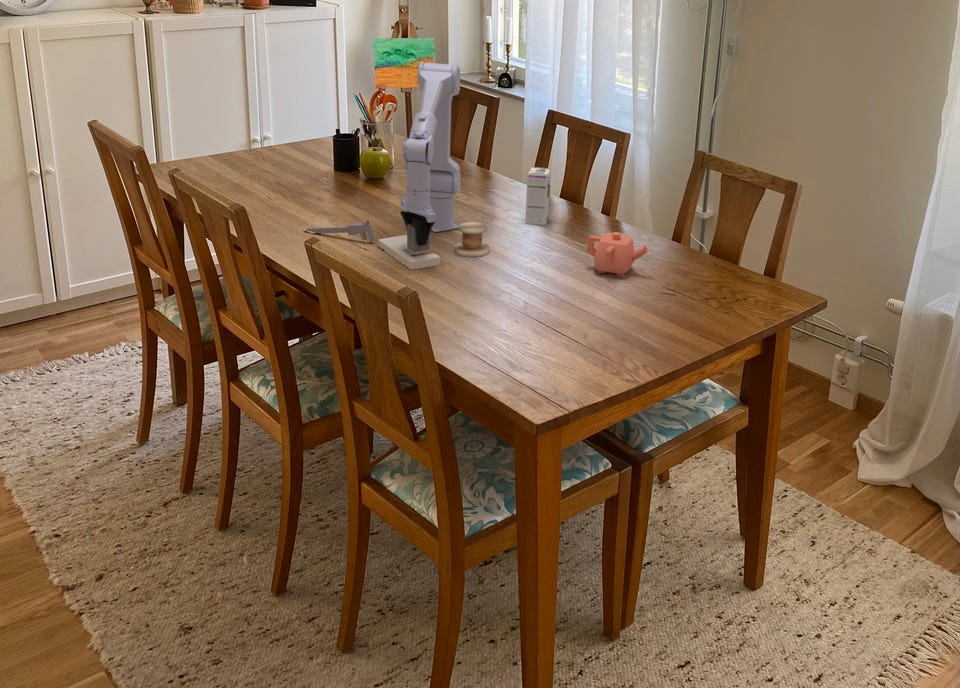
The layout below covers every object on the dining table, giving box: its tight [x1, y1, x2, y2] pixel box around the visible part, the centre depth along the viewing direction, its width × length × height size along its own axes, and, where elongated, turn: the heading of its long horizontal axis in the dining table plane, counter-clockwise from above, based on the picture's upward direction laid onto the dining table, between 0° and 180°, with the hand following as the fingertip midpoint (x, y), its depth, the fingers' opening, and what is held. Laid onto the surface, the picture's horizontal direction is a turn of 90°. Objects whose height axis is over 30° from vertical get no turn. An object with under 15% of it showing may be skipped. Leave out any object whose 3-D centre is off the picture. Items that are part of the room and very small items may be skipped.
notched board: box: [377, 234, 441, 271], centre depth 250 cm, size 18×8×2 cm, turn 31°
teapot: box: [586, 231, 649, 277], centre depth 244 cm, size 12×12×10 cm
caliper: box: [306, 219, 375, 243], centre depth 260 cm, size 20×1×6 cm, turn 68°
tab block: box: [406, 223, 430, 252], centre depth 246 cm, size 4×4×6 cm
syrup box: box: [525, 167, 552, 226], centre depth 275 cm, size 6×6×14 cm
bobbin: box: [453, 221, 491, 258], centre depth 254 cm, size 9×9×6 cm
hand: (417, 241), depth 247 cm, fingers closed on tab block, 4 cm apart
